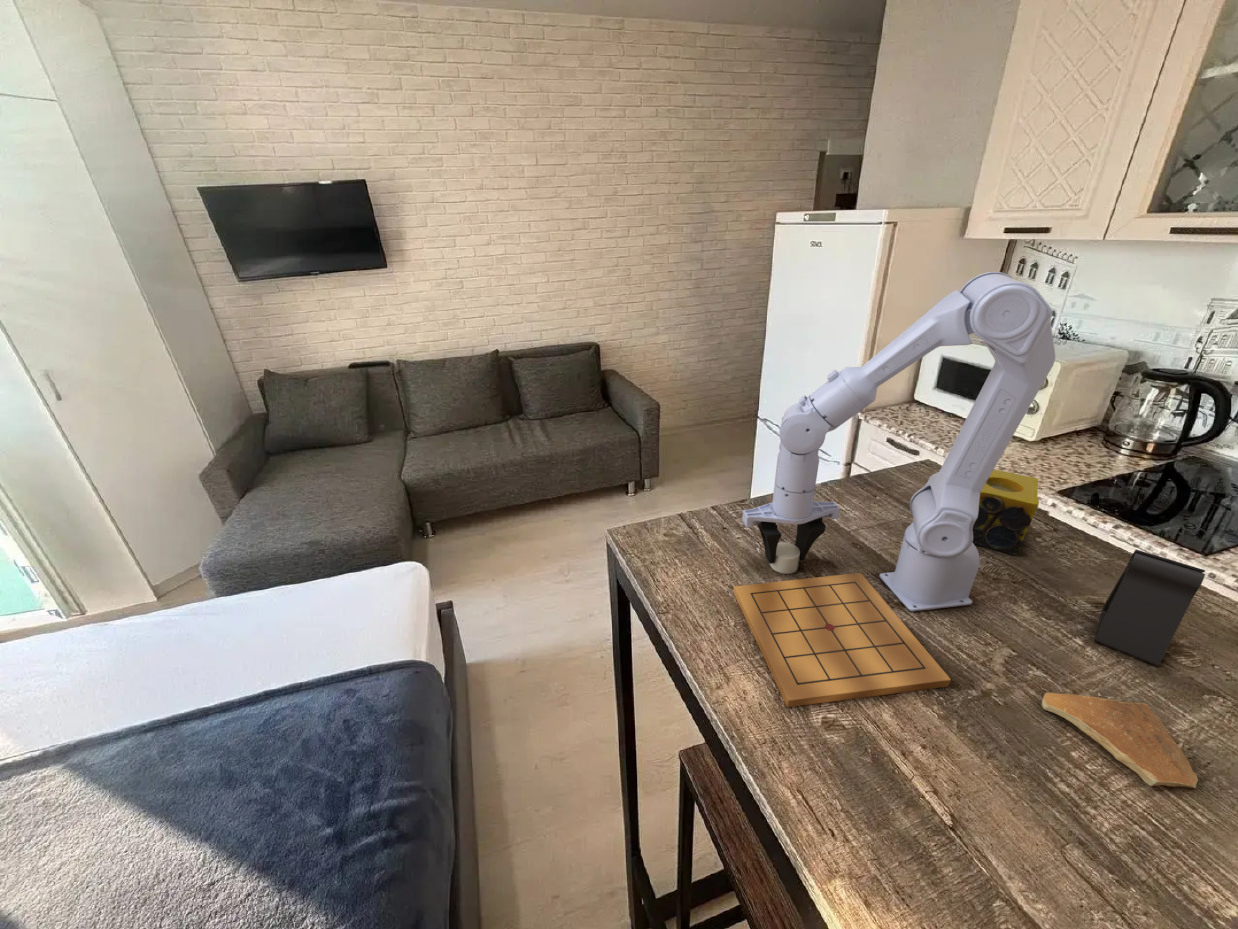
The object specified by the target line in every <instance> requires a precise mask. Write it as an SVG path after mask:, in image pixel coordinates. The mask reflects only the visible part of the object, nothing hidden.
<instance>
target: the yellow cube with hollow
mask: <svg viewBox="0 0 1238 929" xmlns="http://www.w3.org/2000/svg"><path fill="white" fill-rule="evenodd" d="M1038 486H1039V478H1037V477H1034V476H1029V475H1023V474H1018V473H1015V472H1009V471H1005V470H999V469H995V468H994V470H993V471H992V473H991V475H990V477H989V478H988V480H987V482H986V484H985V485H984V487H983V489H982V491H981V492H980V499H979V511H978V517H977V519H976V521H975V523H974V525H973V542H972V543H973V544H974V545H975V546H980V547H984V548H988V549H991V550H994V551H1000V552H1003V553H1006V554H1009V555H1013V556H1017V555H1019V554H1020V551H1021V548H1022V547H1023V544H1024V541H1025V536H1026V534H1027V532H1028V530H1029V527H1030V525H1031V523H1032V521H1033V519H1034V517H1035V515H1036V512H1037V509H1038V507H1039V504H1040V500H1039V495H1038Z"/></svg>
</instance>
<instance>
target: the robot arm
mask: <svg viewBox="0 0 1238 929" xmlns="http://www.w3.org/2000/svg"><path fill="white" fill-rule="evenodd" d="M1053 313H1054V311H1053V309H1052V307H1051V306H1050V305H1049V303H1048V302H1047V301H1046V300H1045V298H1044V297H1043V295H1042V294H1041V293H1040V292H1039V291H1038V289H1036V288H1035V287H1034V286H1033V285H1031V284H1029V283H1026V282H1023V281H1018V280H1017V279H1015V278H1014V277H1012V276H1011V275H1010V274H1007V273H1006V272H1005V273H1004V272H1002V271H988V272H987V271H986V272H984V273H981V274H978V275H975V276H974V277H972V278H971V279H970V280H968V281H967V282H966V283H965V284H964V285H963V286H962V287H961V289H960V290H958V289H956V290H954V291H952V292H950V293H949V294H947V295H946V296H945V297H944V298H942V299H941V300H939V301H938V302H937V303H936V304H935V305H933V307H932V308H930V309H929V310H928V311H927V312H926V313H924V314H923V315H922V316H921V317H919V318H918V319H917V320H916V321H915V322H914V323H912V324H911V325H910V326H909V327H907V328H906V329H905V330H904V331H903V332H901V333H900V334H899V335H898V336H897V337H896V338H894V339H893V340H891V341H890V342H889V343H888V344H887V345H886V346H885V347H883V349H881V350H880V351H879V352H877V353H876V354H875V355H874V356H873V357H871V358H870V359H869V360H868V361H866V363H864V364H863V365H861V366H846V367H844V368H843V369H841V370H840V371H838V370H836V369H833V370H832V371H831V372H830V373H828V375H827V377H826V378H827V381H826V382H825V383H823V384H822V385H821V386H819V387H818V388H817V389H815V390H814V391H813V392H812V393H811V394H809V395H808V396H806V395H803V396H802V397H800V398H799V399H798V402H797V403H794V404H792V405H790V406H789V407H788V408H787V409H786V410H785V411H784V414H783V416H782V418H781V423H780V426H779V440H780V442H779V445H778V448H779V451H778V454H777V459H776V468H775V475H774V486H773V495H772V501H771V502H768V503H766V504H763V505H760V506H757V507H754V508H749V509H743V510H742V516H741V517H742V518H741V522H742V523H743V525H744V527H745V528H753V527H754V525H756V526H757V528H758V530H759V533H760V535H761V538H762V543H763V548H764V556H765V558H766V560H767V562H768V563H769V565H770V564H772V563H774V562H775V558H776V549H777V545H778V543H779V542H780V539H781V537H782V533H781V532H780V531H779V529H778V525H777V524H785V525H796V536H795V537H796V538H795V544H794V545H795V546H796V547H798V548H799V550H800V558H799V561H804V560H805V559H806V557H807V555H808V553H809V551H810V549H811V548H812V546H813V545H814V543H815V542H816V541H817V539H819V537H820V536H821V535H823V534H824V533H825V532H826V528H827V526H826V524H825V523H824V521H823V519H824V518H830V519H831V520H838V519H839V516H840V510H841V507H839V506H838V504H837V503H836V502H835V501H817V500H814V497H815V490H816V486H817V485H816V484H817V478H818V472H819V466H820V465H819V464H820V456H819V451H820V449H821V447H822V446H823V445H824V443H825V440H826V435H827V434H828V433H829V432H832V431H835V430H836V429H838V428H839V427H840V426H842V425H843V424H845V423H846V422H847V421H849V420H850V419H851V418H853V417H855V415H857V414H859V413H860V412H862V411H863V410H864V409H866V408H867V407H868V406H870V405H871V404H872V403H874V402H875V401H876V398H877V392H878V391H877V390H878V388H879V387H880V386H881V385H884V383H886V382H887V381H889V380H890V379H892V378H893V377H895V376H896V375H898V374H900V373H901V372H902V371H904V370H906V369H908V368H909V367H910V366H912V365H913V364H915V363H916V362H918V361H919V360H920V359H922V358H923V357H925V356H926V355H928V354H930V353H931V352H933V351H935V350H936V349H937V348H940V347H954V346H969V345H972V340H971V337H970V335H972V334H975V335H976V336H977V337H978V338H980V339H981V340H982V341H983V342H984V344H985V346H986V348H987V349H988V351H989V352H990V354H991V356H992V357H993V360H994V364H993V366H992V368H991V369H990V371H989V374H988V375H987V377H986V379H985V382H984V384H983V386H982V387H981V390H980V391H979V393H978V395H977V397H976V399H975V401H974V403H973V405H972V407H971V409H970V411H969V413H968V415H967V417H966V419H965V421H964V422H963V424H962V427H961V428H960V430H959V432H958V434H957V436H956V438H955V440H954V442H953V444H952V446H951V448H950V450H949V452H948V454H947V455H946V458H945V459H944V461H943V462H942V463H943V464H942V465H941V467H940V469H939V471H938V472H936V473H934V474H932V475H930V476H929V478H928V480H927V482H926V483H925V484H924V485H923V487H921V488H920V489H918V490H916V492H914V493H913V495H912V496H911V498H910V501H909V509H910V513H911V514H912V518H913V521H912V522H911V523H910V524H909V526H908V527H907V528H906V529H905V531H904V535H903V537H902V538H903V539H902V542H901V546H900V550H899V554H898V558H897V561H896V566H895V569H894V571H891V572H882V573H879V576H878V577H879V578H880V579H881V581H882V582H883V583H884V584H885V585H886V586H887V587H888V589H889V590H890V591H891V592H892V593H893V594H894V595H895V597H897V598H898V600H899V601H900V602H901V603H902V604H903V606H905V607H906V609H907V610H908V611H910V612H918V611H919V612H920V611H929V610H937V609H945V608H947V609H948V608H952V607H962V606H971V605H972V604H973V600H972V599H971V598H970V597H969V596H970V595H971V591H972V588H973V586H974V582H975V580H976V576H977V574H978V571H979V568H980V563H981V562H980V560H981V559H980V554H979V550H978V549H977V547H976V545H975V544H973V543H972V542H973V525H974V523H975V521H976V519H977V517H978V511H979V499H980V492H981V491H982V489H983V487H984V485H985V484H986V482H987V480H988V478H989V477H990V475H991V473H992V471H993V470H994V469H995V468H996V466H997V465H998V462H999V461H1000V459H1001V457H1002V456H1003V455H1004V452H1005V451H1006V449H1007V447H1008V445H1009V443H1010V442H1011V440H1012V438H1013V437H1014V435H1015V434H1016V431H1017V430H1018V428H1019V426H1020V424H1021V423H1022V421H1023V419H1024V417H1025V415H1026V414H1027V412H1028V410H1029V408H1030V407H1031V405H1032V403H1033V402H1034V400H1035V399H1036V397H1037V395H1038V393H1039V391H1040V389H1041V388H1042V386H1043V384H1044V383H1045V381H1046V380H1047V377H1048V375H1049V374H1050V372H1051V370H1052V369H1053V367H1054V364H1055V362H1056V349H1055V342H1054V336H1053V330H1052V322H1051V320H1052V316H1053Z"/></svg>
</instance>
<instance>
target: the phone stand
mask: <svg viewBox="0 0 1238 929" xmlns="http://www.w3.org/2000/svg"><path fill="white" fill-rule="evenodd" d="M1205 577H1206V569H1203V568H1200V567H1196V566H1193V565H1189V564H1186V563H1184V562H1180V561H1176V560H1173V559H1170V558H1166V557H1163V556H1159V555H1156V554H1152V553H1151V552H1146V551H1143V550H1139V549H1135V550H1134V552H1133V553H1132V555H1131V557H1130V559H1129V560H1128V563H1127V564H1126V566H1125V568H1124V570H1123V571H1122V573H1121V574H1120V577H1119V579H1118V580H1117V582H1116V583H1115V585H1114V587H1113V589H1112V590H1111V592H1110V593H1109V595H1108V597H1107V598H1106V601H1105V602H1104V603H1103V606H1102V609H1101V613H1100V616H1099V620H1098V624H1097V628H1096V630H1095V631H1096V632H1095V635H1094V638H1093V639H1094V640H1093V641H1094V642H1096V643H1098V644H1100V645H1103V646H1105V647H1108V648H1110V649H1112V650H1115V651H1118V652H1120V653H1122V654H1125V655H1128V656H1130V657H1133V658H1135V659H1137V660H1140V661H1142V662H1145V663H1148V664H1150V665H1153V666H1155V667H1159V666H1160V664H1161V663H1162V661H1163V658H1164V657H1165V654H1166V652H1167V649H1168V648H1169V646H1170V644H1171V642H1172V640H1173V638H1174V636H1175V635H1176V633H1177V630H1178V629H1179V627H1180V624H1181V622H1182V621H1183V619H1184V616H1185V614H1186V613H1187V610H1188V608H1189V607H1190V605H1191V603H1192V601H1193V598H1194V597H1195V595H1196V594H1197V592H1198V591H1199V590H1200V588H1201V586H1202V583H1203V582H1204V579H1205Z"/></svg>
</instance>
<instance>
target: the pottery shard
mask: <svg viewBox="0 0 1238 929" xmlns="http://www.w3.org/2000/svg"><path fill="white" fill-rule="evenodd" d="M1041 707H1042V709H1043V710H1044V711H1048V712H1050V713H1053V714H1055V715H1057V716H1059V717H1061V718H1064V719H1065V720H1067V721H1068V722H1070V723H1072V724H1073V726H1076V727H1077V728H1078V729H1079V730H1080V731H1082V732H1083V733H1084V734H1086V735H1087V736H1088V737H1090V738H1091V739H1092V740H1094V741H1095V742H1096V743H1097V744H1099V745H1101V747H1103V748H1104V749H1105V750H1106V751H1107V752H1109V753H1110V754H1111V755H1112V756H1113V757H1114V759H1116V760H1117V761H1118V762H1120V763H1122V764H1124V765H1125V766H1126V767H1128V768H1129V769H1130V770H1132V771H1133V772H1135V774H1137V775H1138V776H1139V778H1141V780H1143V782H1144V783H1145V784H1147V785H1148V786H1149V787H1155V786H1166V787H1184V788H1185V787H1186V788H1191V789H1196V788H1197V783H1198V781H1199V778H1198V776H1197V774H1196V773H1195V772H1194V770H1193V769H1192V765H1191V763H1190V762H1189V760H1188V758H1187V757H1186V755H1185V754H1184V753H1183V751H1182V749H1181V747H1180V746H1179V745H1178V743H1176V742H1175V740H1174V739H1173V738H1172V736H1171V734H1170V731H1169V730H1168V728H1167V727H1166V726H1165V725H1164V724H1163V722H1162V721H1161V720H1160V718H1159V717H1158V716H1157V715H1156V714H1155V712H1154V711H1153V710H1152V708H1150V706H1149V705H1148V704H1147V703H1142V702H1126V701H1125V702H1124V701H1119V700H1116V699H1109V698H1102V697H1097V696H1088V695H1081V694H1069V693H1057V692H1045V693H1044V695H1043V696H1042V702H1041Z"/></svg>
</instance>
